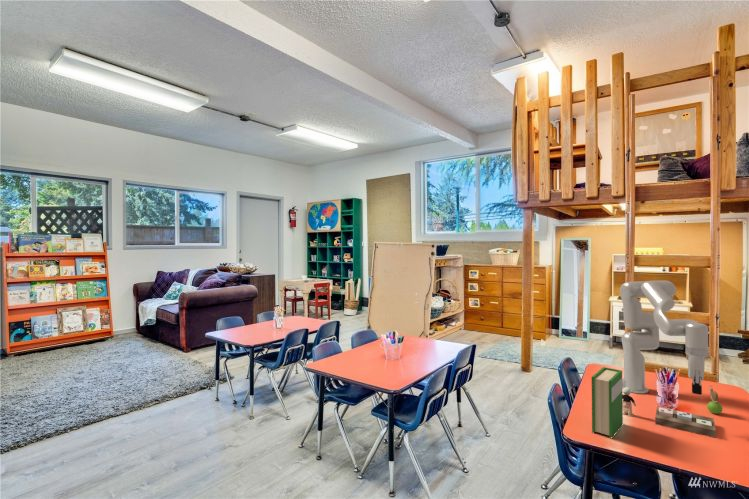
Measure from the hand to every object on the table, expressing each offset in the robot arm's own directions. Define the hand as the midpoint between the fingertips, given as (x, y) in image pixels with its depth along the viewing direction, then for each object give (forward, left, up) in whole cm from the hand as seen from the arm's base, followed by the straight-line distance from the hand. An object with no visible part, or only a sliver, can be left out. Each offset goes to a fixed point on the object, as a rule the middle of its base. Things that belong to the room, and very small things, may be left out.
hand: (696, 393), depth 164 cm
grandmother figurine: (-25, -3, -15) cm, 30 cm away
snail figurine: (+7, +23, -15) cm, 28 cm away
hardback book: (-30, -24, -15) cm, 42 cm away
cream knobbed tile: (+2, 0, -14) cm, 15 cm away
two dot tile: (-11, 0, -13) cm, 17 cm away
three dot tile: (-4, 0, -13) cm, 14 cm away
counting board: (-4, 0, -15) cm, 16 cm away
